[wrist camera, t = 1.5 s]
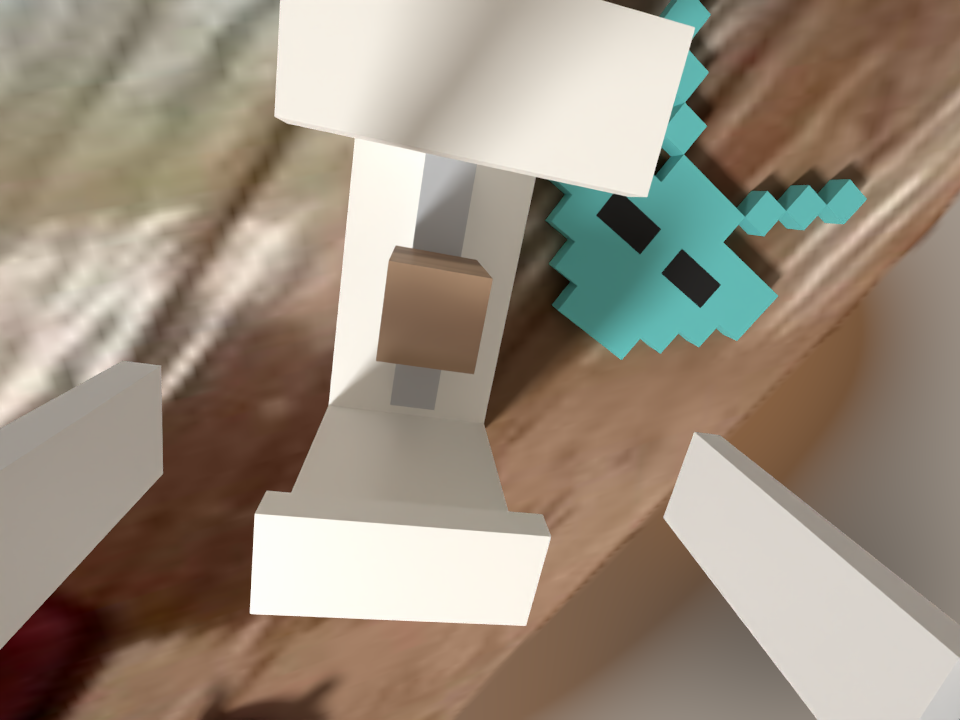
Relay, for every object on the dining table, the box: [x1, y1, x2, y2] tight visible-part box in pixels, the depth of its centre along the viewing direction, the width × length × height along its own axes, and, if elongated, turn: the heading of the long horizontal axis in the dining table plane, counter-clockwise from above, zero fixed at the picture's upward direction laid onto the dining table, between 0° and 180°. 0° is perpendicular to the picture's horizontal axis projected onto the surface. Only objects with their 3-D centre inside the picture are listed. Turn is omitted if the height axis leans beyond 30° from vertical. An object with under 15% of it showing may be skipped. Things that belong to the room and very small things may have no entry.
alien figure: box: [545, 0, 867, 360], centre depth 35 cm, size 20×2×20 cm
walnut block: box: [376, 245, 493, 374], centre depth 26 cm, size 5×5×7 cm
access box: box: [250, 0, 695, 626], centre depth 26 cm, size 24×12×18 cm, turn 169°
